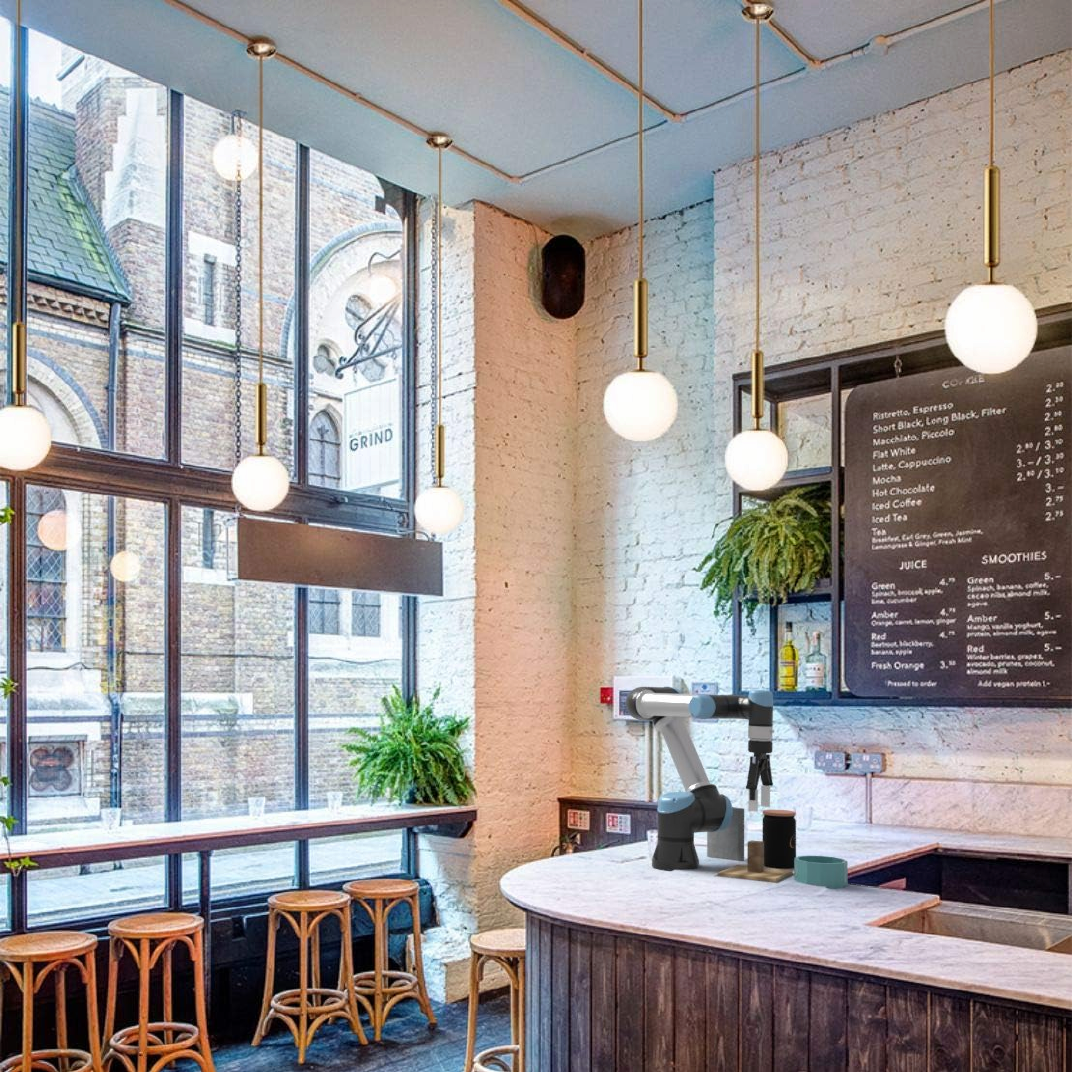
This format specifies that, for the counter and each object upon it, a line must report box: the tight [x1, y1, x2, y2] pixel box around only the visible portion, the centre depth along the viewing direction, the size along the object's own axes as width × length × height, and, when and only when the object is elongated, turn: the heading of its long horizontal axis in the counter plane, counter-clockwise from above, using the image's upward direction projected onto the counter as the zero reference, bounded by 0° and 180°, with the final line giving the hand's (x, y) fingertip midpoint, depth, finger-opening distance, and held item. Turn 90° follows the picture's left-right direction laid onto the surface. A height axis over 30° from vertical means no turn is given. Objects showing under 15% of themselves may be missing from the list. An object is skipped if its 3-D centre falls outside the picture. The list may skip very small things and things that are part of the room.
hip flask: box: [706, 806, 745, 862], centre depth 391 cm, size 16×4×20 cm, turn 37°
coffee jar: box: [762, 809, 797, 870], centre depth 376 cm, size 11×11×18 cm
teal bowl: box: [793, 855, 849, 889], centre depth 348 cm, size 15×15×7 cm
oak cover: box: [717, 840, 794, 883], centre depth 357 cm, size 18×18×10 cm
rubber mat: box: [714, 872, 795, 884], centre depth 357 cm, size 20×20×1 cm
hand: (759, 808), depth 360 cm, fingers open, 13 cm apart
